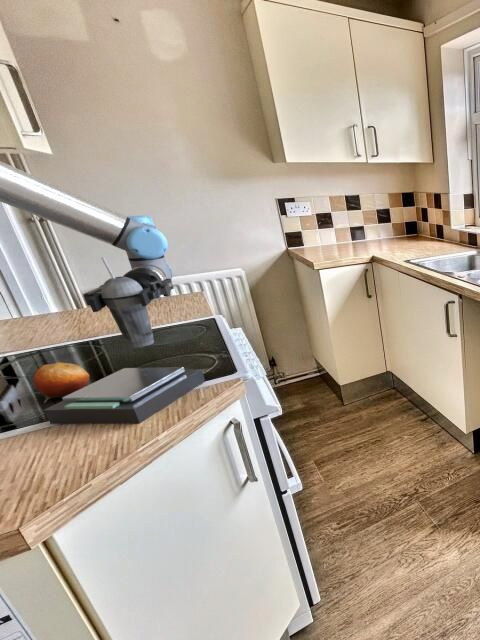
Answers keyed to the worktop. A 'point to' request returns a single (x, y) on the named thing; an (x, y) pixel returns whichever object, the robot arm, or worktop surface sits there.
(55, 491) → the worktop surface
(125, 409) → the scale
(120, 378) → the scale pan
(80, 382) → the fruit
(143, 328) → the beverage cup
